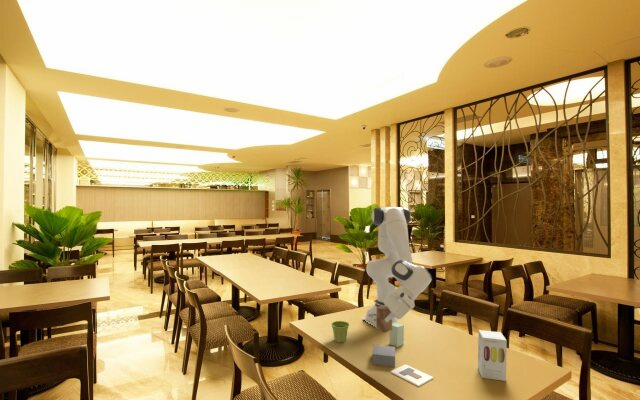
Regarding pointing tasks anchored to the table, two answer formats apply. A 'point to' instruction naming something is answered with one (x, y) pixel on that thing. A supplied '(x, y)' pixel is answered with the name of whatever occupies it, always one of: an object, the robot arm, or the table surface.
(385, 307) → the walnut block
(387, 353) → the charcoal base block
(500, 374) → the supplement box
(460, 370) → the table surface
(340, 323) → the plant pot
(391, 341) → the sage block
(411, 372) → the card
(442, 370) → the table surface
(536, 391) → the table surface
